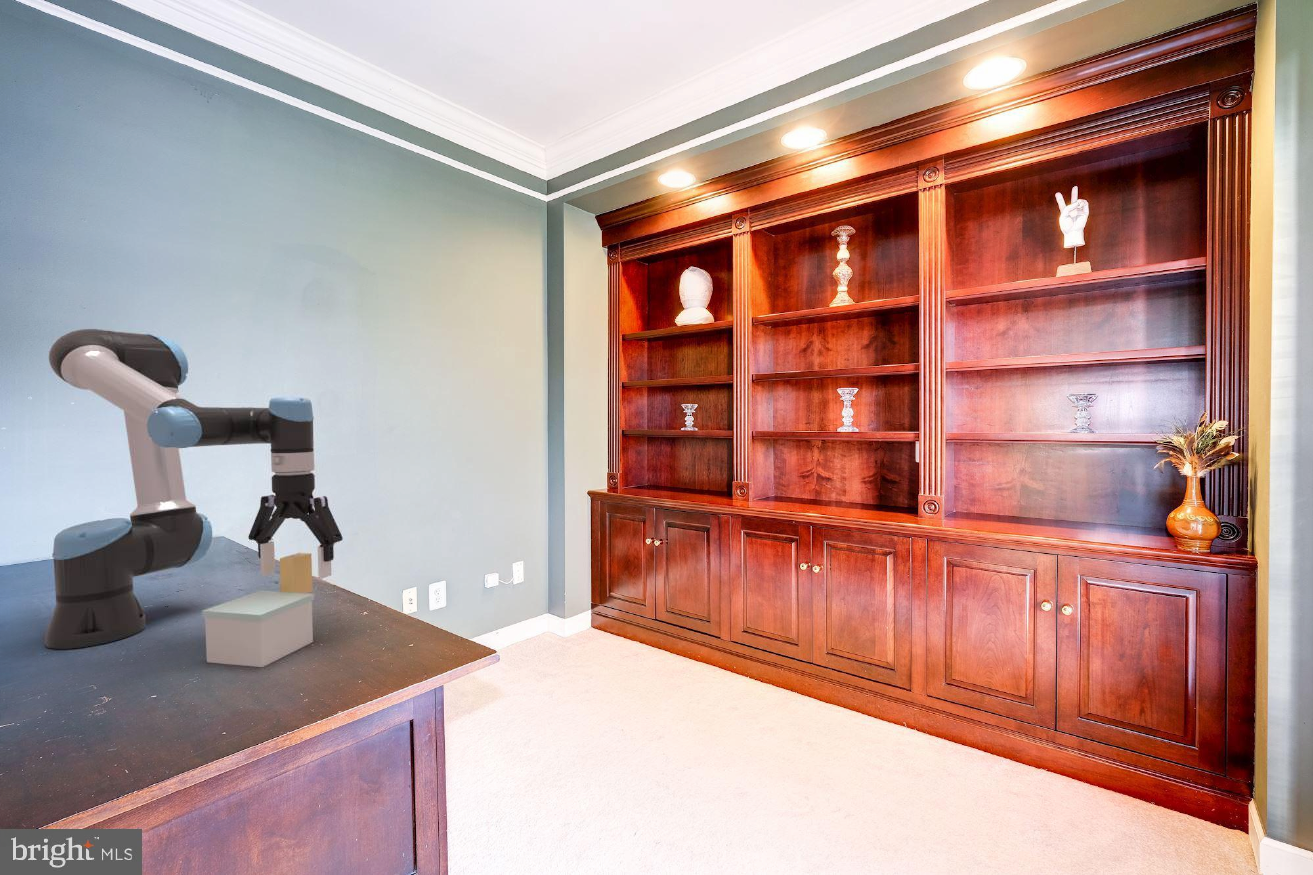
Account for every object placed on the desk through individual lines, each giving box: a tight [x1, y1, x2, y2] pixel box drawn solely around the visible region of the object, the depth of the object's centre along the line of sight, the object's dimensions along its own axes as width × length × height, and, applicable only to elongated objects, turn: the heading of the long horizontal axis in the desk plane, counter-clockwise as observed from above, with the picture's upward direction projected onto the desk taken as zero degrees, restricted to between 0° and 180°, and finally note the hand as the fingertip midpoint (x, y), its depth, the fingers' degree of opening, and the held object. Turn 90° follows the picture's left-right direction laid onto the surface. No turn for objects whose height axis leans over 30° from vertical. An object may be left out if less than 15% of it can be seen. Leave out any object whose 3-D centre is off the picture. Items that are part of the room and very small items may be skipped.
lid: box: [201, 552, 315, 622], centre depth 115 cm, size 13×18×8 cm
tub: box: [204, 600, 314, 668], centre depth 113 cm, size 12×12×8 cm
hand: (296, 575), depth 121 cm, fingers open, 13 cm apart
